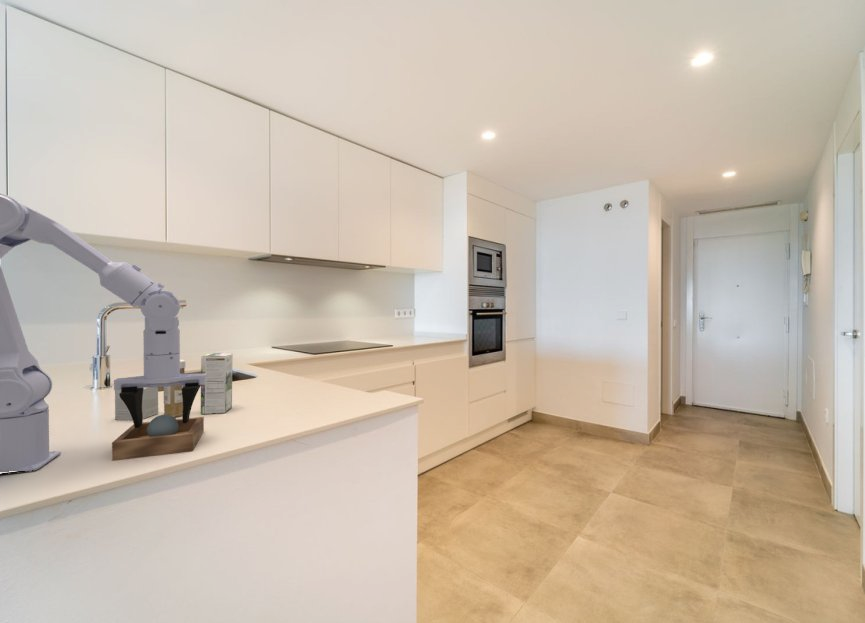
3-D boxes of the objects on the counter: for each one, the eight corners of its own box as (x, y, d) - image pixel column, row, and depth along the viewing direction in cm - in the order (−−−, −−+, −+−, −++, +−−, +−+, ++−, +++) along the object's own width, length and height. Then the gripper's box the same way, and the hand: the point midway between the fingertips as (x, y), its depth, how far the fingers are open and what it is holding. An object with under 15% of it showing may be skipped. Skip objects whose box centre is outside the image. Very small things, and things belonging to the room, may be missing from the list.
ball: (143, 447, 72) (143, 420, 72) (151, 438, 76) (150, 413, 76) (175, 443, 74) (175, 417, 74) (181, 435, 78) (180, 410, 78)
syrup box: (208, 408, 101) (207, 352, 100) (233, 407, 102) (232, 352, 102) (200, 414, 95) (199, 355, 95) (226, 413, 96) (226, 355, 96)
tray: (112, 460, 67) (112, 442, 67) (135, 438, 78) (135, 422, 78) (192, 450, 72) (192, 434, 72) (203, 431, 83) (203, 416, 83)
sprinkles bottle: (185, 416, 94) (185, 360, 93) (162, 419, 91) (162, 362, 91) (185, 412, 98) (185, 358, 97) (163, 414, 95) (163, 359, 95)
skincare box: (136, 413, 96) (136, 383, 96) (159, 414, 96) (158, 384, 96) (114, 420, 90) (113, 388, 90) (138, 421, 90) (137, 389, 90)
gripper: (208, 349, 81) (208, 414, 81) (123, 352, 76) (123, 422, 76) (202, 353, 75) (203, 424, 75) (109, 357, 69) (109, 433, 69)
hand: (162, 424), depth 75 cm, fingers open, 7 cm apart
